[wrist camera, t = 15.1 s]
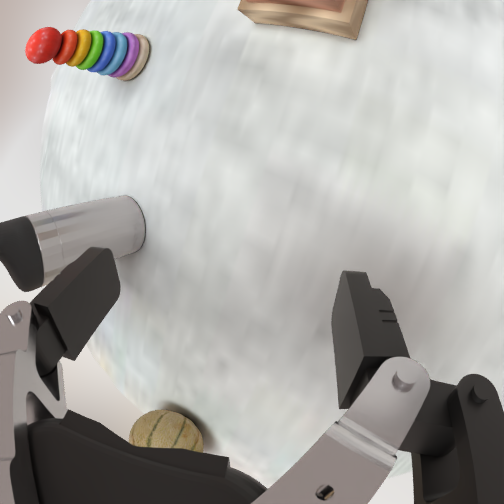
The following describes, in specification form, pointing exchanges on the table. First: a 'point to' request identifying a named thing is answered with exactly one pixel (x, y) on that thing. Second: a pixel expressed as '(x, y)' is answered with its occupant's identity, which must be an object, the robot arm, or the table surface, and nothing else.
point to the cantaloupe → (166, 431)
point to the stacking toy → (91, 51)
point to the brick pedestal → (309, 14)
